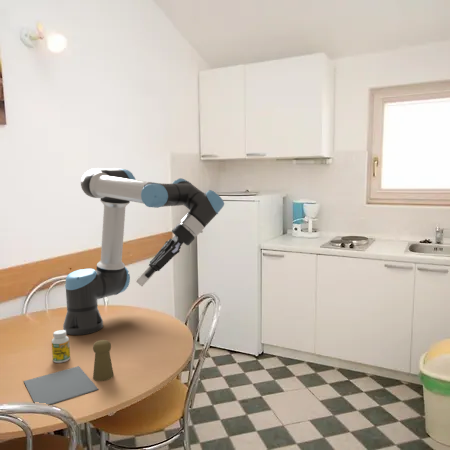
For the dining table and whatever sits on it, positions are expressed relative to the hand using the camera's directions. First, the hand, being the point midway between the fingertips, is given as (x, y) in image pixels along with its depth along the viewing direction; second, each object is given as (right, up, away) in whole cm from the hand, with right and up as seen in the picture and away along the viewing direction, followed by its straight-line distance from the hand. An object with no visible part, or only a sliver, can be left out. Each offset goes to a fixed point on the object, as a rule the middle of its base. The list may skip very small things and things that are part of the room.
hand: (138, 283), depth 131 cm
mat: (-20, -28, -14) cm, 37 cm away
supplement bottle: (-26, -26, +3) cm, 37 cm away
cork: (-9, -27, -9) cm, 30 cm away
